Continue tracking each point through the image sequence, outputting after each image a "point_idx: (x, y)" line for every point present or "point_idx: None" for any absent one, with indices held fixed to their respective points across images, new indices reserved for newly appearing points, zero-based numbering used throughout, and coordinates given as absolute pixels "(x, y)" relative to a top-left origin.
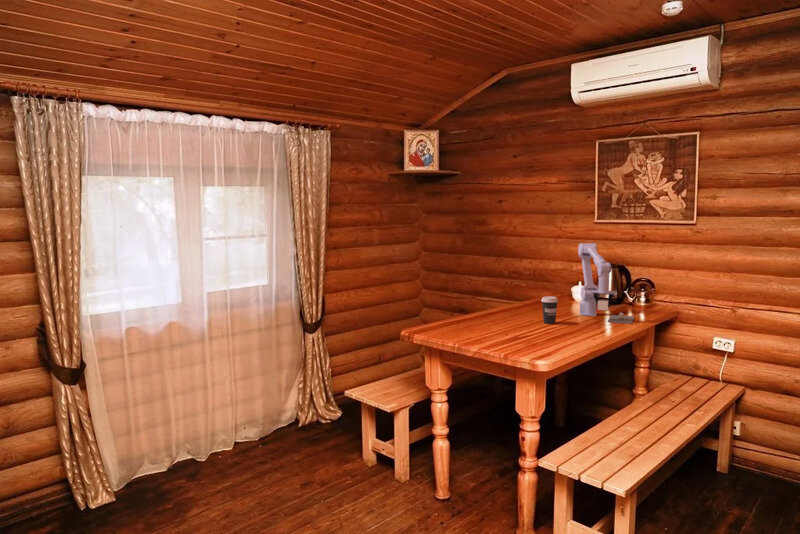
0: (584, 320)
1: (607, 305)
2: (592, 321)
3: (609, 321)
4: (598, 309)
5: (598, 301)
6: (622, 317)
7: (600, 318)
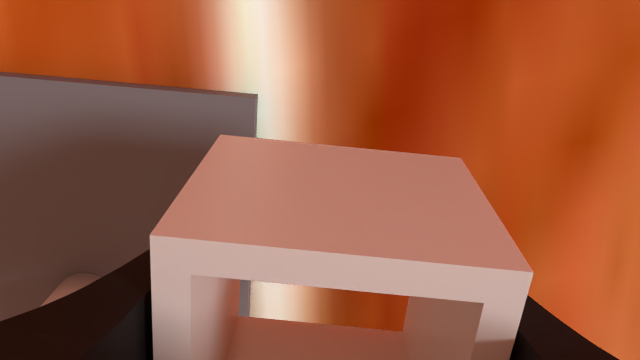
0: (618, 125)
1: (199, 183)
2: (495, 81)
3: (229, 93)
4: (440, 159)
5: (503, 264)
6: (55, 291)
7: (370, 311)
